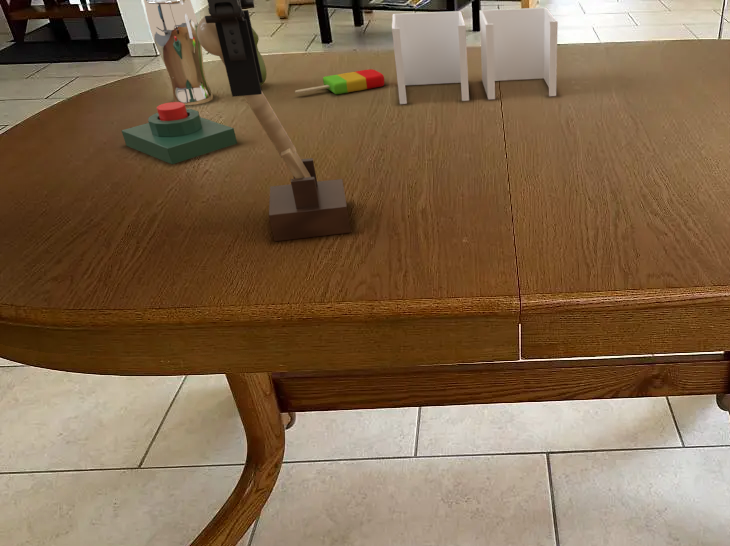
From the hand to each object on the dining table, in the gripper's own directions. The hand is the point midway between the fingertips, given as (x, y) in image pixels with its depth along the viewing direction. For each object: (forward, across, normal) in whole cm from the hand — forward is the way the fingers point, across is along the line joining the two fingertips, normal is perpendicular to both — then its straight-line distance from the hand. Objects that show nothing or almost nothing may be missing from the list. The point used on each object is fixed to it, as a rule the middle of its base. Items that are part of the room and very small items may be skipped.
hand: (248, 87), depth 73 cm
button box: (+15, +31, +14) cm, 37 cm away
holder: (+15, 0, -4) cm, 15 cm away
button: (+11, +31, +13) cm, 36 cm away
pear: (+15, +58, +5) cm, 60 cm away
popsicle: (+15, +52, -10) cm, 55 cm away
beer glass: (+15, +53, +14) cm, 57 cm away
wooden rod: (+3, 0, +1) cm, 3 cm away
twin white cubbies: (+15, +45, -31) cm, 57 cm away
